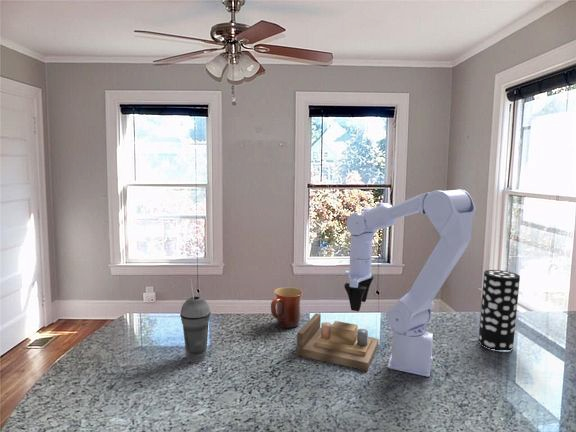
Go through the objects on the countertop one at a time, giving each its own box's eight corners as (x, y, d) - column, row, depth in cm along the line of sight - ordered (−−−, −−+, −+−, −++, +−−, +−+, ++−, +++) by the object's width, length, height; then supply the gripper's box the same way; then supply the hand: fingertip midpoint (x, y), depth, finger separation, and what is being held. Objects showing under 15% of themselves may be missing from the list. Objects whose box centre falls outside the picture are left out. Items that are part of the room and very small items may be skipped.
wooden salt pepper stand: (371, 342, 100) (372, 324, 99) (365, 356, 93) (366, 336, 92) (324, 333, 105) (324, 315, 104) (314, 345, 98) (315, 326, 97)
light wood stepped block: (378, 345, 102) (379, 324, 102) (367, 371, 90) (368, 346, 89) (315, 333, 109) (315, 313, 109) (296, 355, 97) (297, 332, 96)
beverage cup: (203, 367, 90) (202, 285, 88) (175, 363, 92) (173, 283, 89) (215, 352, 97) (215, 276, 95) (189, 349, 99) (187, 274, 96)
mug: (285, 316, 122) (285, 285, 120) (308, 323, 116) (308, 291, 115) (260, 328, 112) (260, 295, 111) (283, 337, 107) (284, 301, 106)
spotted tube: (504, 339, 108) (510, 270, 105) (519, 353, 99) (526, 279, 97) (473, 337, 108) (479, 269, 106) (485, 351, 100) (492, 277, 98)
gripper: (352, 250, 111) (350, 295, 113) (338, 261, 98) (337, 312, 99) (377, 253, 108) (374, 299, 110) (366, 264, 95) (364, 316, 97)
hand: (358, 305), depth 104 cm, fingers open, 7 cm apart
